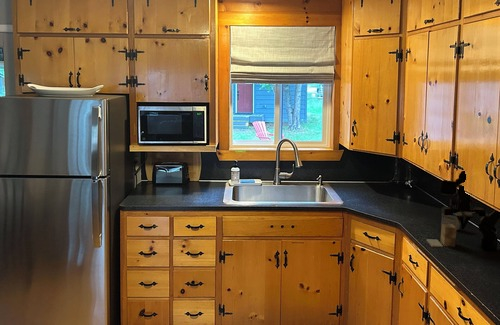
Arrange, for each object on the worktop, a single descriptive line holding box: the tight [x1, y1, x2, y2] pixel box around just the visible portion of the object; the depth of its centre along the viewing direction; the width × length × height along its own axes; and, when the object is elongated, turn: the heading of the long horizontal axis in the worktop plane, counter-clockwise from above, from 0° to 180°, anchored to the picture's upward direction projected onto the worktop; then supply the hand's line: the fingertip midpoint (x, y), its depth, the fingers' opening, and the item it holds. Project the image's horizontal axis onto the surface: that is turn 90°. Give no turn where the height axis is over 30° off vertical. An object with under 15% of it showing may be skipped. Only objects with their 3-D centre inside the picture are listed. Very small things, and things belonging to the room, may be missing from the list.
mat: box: [426, 238, 444, 248], centre depth 264 cm, size 5×10×1 cm, turn 177°
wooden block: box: [439, 224, 457, 247], centre depth 263 cm, size 5×6×9 cm
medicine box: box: [440, 212, 460, 231], centre depth 289 cm, size 8×4×9 cm, turn 45°
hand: (462, 229), depth 262 cm, fingers closed
